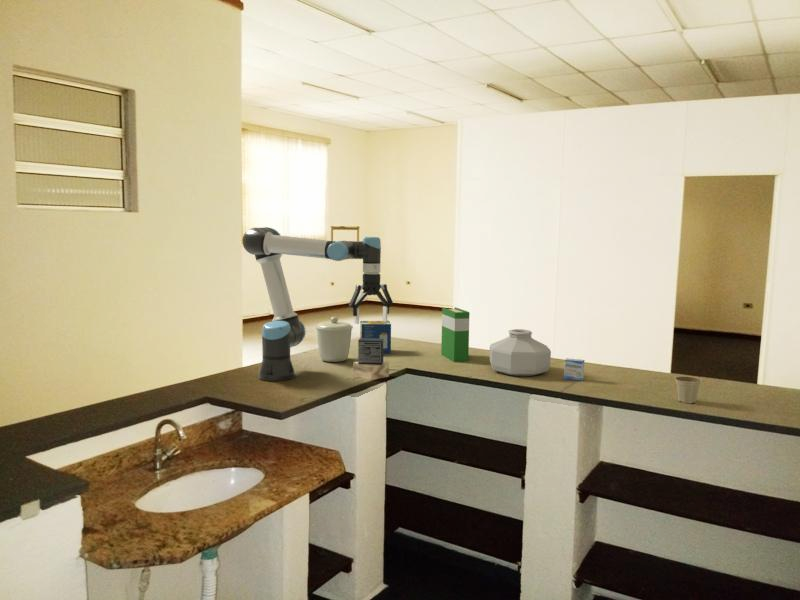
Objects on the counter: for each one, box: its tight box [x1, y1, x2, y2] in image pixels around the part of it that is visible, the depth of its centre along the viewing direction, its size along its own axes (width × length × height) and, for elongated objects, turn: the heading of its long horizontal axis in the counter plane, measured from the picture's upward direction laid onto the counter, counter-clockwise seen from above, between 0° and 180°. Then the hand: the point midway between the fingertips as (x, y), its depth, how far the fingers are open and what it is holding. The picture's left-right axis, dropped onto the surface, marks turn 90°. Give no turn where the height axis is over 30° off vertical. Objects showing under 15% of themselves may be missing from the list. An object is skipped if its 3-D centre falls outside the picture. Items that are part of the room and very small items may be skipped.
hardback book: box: [440, 306, 470, 363], centre depth 320 cm, size 18×7×24 cm, turn 17°
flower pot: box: [674, 375, 702, 404], centre depth 246 cm, size 9×9×9 cm
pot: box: [489, 328, 552, 377], centre depth 294 cm, size 28×28×19 cm
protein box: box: [359, 320, 392, 355], centre depth 334 cm, size 10×15×16 cm
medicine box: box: [563, 358, 585, 382], centre depth 280 cm, size 8×4×9 cm, turn 68°
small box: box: [357, 337, 384, 364], centre depth 281 cm, size 11×6×10 cm, turn 86°
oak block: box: [352, 361, 390, 381], centre depth 282 cm, size 10×12×6 cm
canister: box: [314, 316, 354, 363], centre depth 312 cm, size 18×18×21 cm
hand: (371, 322), depth 280 cm, fingers open, 13 cm apart
